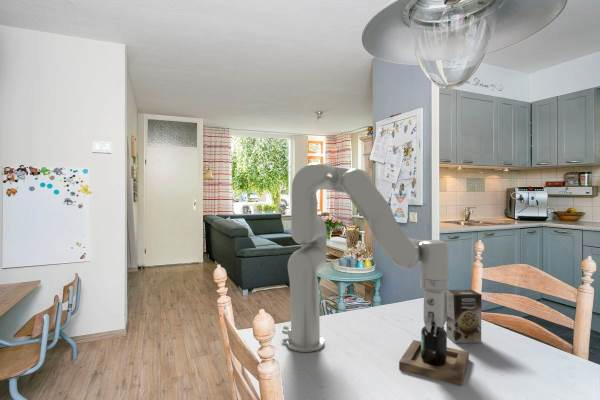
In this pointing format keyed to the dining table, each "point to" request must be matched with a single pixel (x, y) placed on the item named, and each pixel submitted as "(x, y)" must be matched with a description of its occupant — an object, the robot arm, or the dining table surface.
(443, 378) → the wooden tray
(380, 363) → the dining table surface
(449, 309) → the coffee box
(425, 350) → the supplement bottle
